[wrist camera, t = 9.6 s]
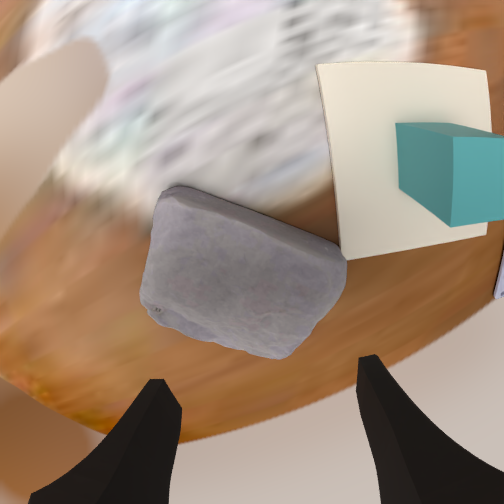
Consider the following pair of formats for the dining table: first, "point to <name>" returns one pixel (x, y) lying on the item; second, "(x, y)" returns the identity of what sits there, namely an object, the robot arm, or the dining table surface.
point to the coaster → (391, 147)
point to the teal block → (452, 171)
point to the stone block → (237, 274)
